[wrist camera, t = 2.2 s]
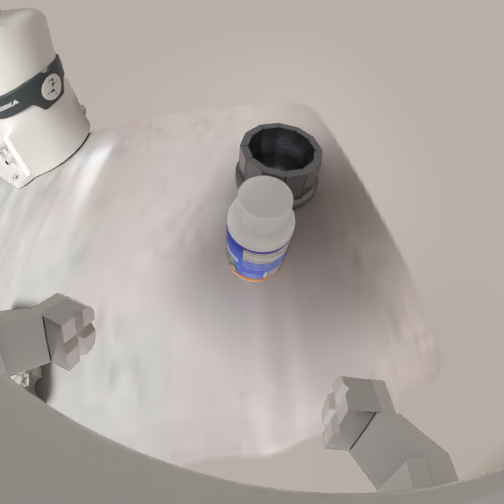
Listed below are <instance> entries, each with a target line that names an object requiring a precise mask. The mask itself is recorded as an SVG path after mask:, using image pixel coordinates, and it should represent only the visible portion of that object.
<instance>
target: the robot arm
mask: <svg viewBox="0 0 504 504" xmlns="http://www.w3.org/2000/svg"><path fill="white" fill-rule="evenodd" d="M85 113H86V109H85V107H84V105H80V104H79V102H78V100H77V98H76V95H75V93H74V91H73V89H72V87H71V85H70V83H69V80H68V79H67V78H65V77H64V70H63V67H62V62H61V60H60V58H59V55H58V54H55V51H54V48H53V44H52V40H51V37H50V33H49V29H48V25H47V20H46V17H45V16H44V14H43V13H42V12H41V11H39V10H37V9H33V8H21V9H12V10H0V177H1V178H3V179H4V180H6V181H7V182H9V183H10V184H12V185H13V186H15V187H16V188H21V187H23V186H24V185H26V184H27V183H28V182H30V181H31V180H32V179H33V178H35V177H37V176H39V175H41V174H43V173H45V172H47V171H49V170H51V169H53V168H55V167H56V166H58V165H59V164H61V163H62V162H64V161H65V160H66V159H67V158H69V157H70V156H71V155H72V154H73V153H74V152H75V151H76V150H77V149H78V148H79V147H80V146H81V144H82V143H83V142H84V140H85V139H86V137H87V135H88V133H89V129H90V124H89V121H88V120H87V118H86V117H85ZM94 319H95V318H94V310H93V309H92V308H91V307H90V306H88V305H85V304H83V303H81V302H79V301H76V300H74V299H72V298H69V297H68V296H65V295H63V294H60V293H57V294H55V295H53V296H51V297H50V298H48V299H46V300H45V301H43V302H41V303H40V304H38V305H36V306H35V307H33V308H31V309H28V308H23V309H14V310H5V311H0V504H504V468H502V469H500V470H497V471H493V472H490V473H487V474H484V475H480V476H477V477H473V478H469V479H465V480H461V481H459V480H458V477H457V475H456V472H455V469H454V467H453V464H452V461H451V459H450V456H449V454H448V453H447V452H446V451H445V450H443V449H442V448H441V447H440V446H438V445H437V444H436V443H435V442H433V441H432V440H431V439H430V438H428V437H427V436H426V435H425V434H424V433H422V432H421V431H420V430H419V429H418V428H416V427H415V426H414V425H413V424H412V423H410V422H409V421H408V420H407V419H406V418H404V417H403V416H402V415H401V414H396V412H395V409H394V406H393V404H392V401H391V398H390V395H389V393H388V390H387V387H386V385H385V382H384V381H382V380H374V379H360V378H352V377H345V376H338V377H337V379H336V380H335V382H334V384H333V389H334V392H333V393H331V394H329V395H328V396H327V399H326V401H325V403H324V407H323V410H322V423H323V424H324V425H325V426H326V428H325V430H324V432H323V439H324V448H326V449H335V450H345V451H349V452H350V454H351V455H352V457H353V458H354V459H355V460H356V462H357V463H358V465H359V466H360V467H361V469H362V470H363V471H364V473H365V474H366V475H367V477H368V478H369V479H370V481H371V482H372V483H373V485H374V486H375V487H376V489H377V491H376V492H375V493H320V492H319V493H318V492H305V491H294V490H285V489H277V488H270V487H263V486H257V485H251V484H246V483H241V482H236V481H231V480H227V479H222V478H218V477H214V476H210V475H206V474H203V473H199V472H195V471H192V470H189V469H185V468H182V467H179V466H176V465H173V464H170V463H167V462H164V461H161V460H159V459H156V458H153V457H151V456H148V455H146V454H143V453H140V452H138V451H136V450H133V449H131V448H128V447H126V446H124V445H122V444H119V443H117V442H115V441H113V440H111V439H109V438H107V437H105V436H102V435H100V434H98V433H96V432H95V431H93V430H91V429H89V428H87V427H85V426H83V425H81V424H79V423H78V422H76V421H74V420H72V419H71V418H69V417H67V416H65V415H64V414H62V413H60V412H59V411H57V410H56V409H54V408H52V407H51V406H49V405H48V404H46V403H45V402H43V401H42V400H40V399H39V398H37V397H36V396H34V395H33V394H31V393H30V392H28V391H27V390H26V389H24V388H23V387H22V386H20V385H19V384H18V383H16V382H15V381H14V380H12V379H11V378H10V377H9V376H12V375H15V374H18V373H21V372H24V371H27V370H30V369H33V368H36V367H39V366H42V365H45V364H48V363H51V362H53V363H55V364H57V365H59V366H61V367H63V368H64V369H66V370H68V371H70V370H71V369H72V368H73V367H74V366H75V365H76V364H77V363H78V362H79V361H80V355H84V354H87V353H88V352H89V351H90V350H91V349H92V347H93V345H94V343H95V337H96V333H95V328H94V327H93V325H92V322H93V320H94Z"/></svg>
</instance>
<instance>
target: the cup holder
mask: <svg viewBox="0 0 504 504" xmlns="http://www.w3.org/2000/svg"><path fill="white" fill-rule="evenodd" d="M321 156H322V149H321V148H320V146H319V145H318V143H317V142H316V140H315V139H314V137H313V136H311V135H309V134H308V133H306V132H304V131H303V130H301V129H300V128H297V127H294V126H289V125H285V124H280V123H279V124H278V123H274V124H264V125H259V126H257V127H255V128H253V129H252V130H250V131H248V132H246V133H245V135H244V137H243V140H242V142H241V144H240V157H239V161H238V163H237V166H236V184H237V187H238V189H239V188H240V186H241V185H242V184H243V183H244V182H245V181H246V180H248V179H250V178H253V177H256V176H271V177H274V178H277V179H279V180H281V181H283V182H284V183H285V184H286V185H287V186H288V187H289V188H290V190H291V192H292V194H293V206H292V209H296V208H298V207H301V206H302V205H304V204H306V203H307V202H308V201H309V200H310V199H311V198H312V196H313V194H314V192H315V189H316V186H317V180H318V178H317V173H318V170H319V167H320V164H321Z"/></svg>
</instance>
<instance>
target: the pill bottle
mask: <svg viewBox="0 0 504 504" xmlns="http://www.w3.org/2000/svg"><path fill="white" fill-rule="evenodd" d="M292 206H293V194H292V192H291V190H290V188H289V187H288V186H287V185H286V184H285V183H284V182H283V181H281V180H279V179H277V178H274V177H271V176H256V177H253V178H250V179H248V180H246V181H245V182H244V183H243V184H242V185H241V186H240V188H239V191H238V195H237V198H236V199H235V200H234V201H233V203H232V204H231V206H230V208H229V210H228V213H227V260H228V264H229V266H230V268H231V270H232V271H233V272H234V273H235V274H236V275H237V276H238V277H240V278H242V279H244V280H246V281H250V282H262V281H265V280H268V279H270V278H271V277H273V276H274V275H275V274H276V273H277V271H278V270H279V268H280V266H281V264H282V261H283V258H284V255H285V253H286V250H287V247H288V245H289V242H290V239H291V237H292V234H293V231H294V228H295V215H294V212H293V209H292Z"/></svg>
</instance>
